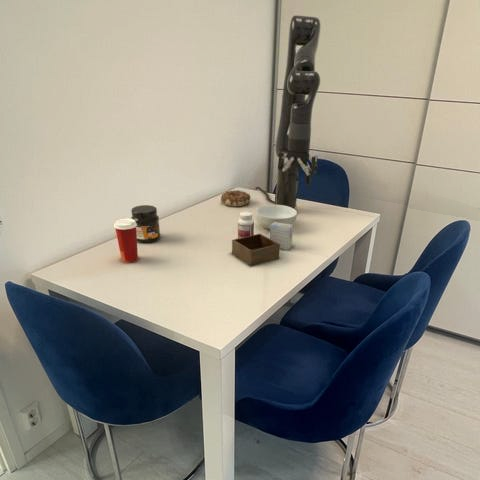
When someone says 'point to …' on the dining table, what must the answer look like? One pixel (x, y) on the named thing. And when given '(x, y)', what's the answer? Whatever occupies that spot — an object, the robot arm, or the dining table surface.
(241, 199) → the donut
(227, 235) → the dining table surface
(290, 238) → the medicine box
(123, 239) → the paper cup
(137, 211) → the supplement container
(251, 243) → the crate
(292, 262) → the dining table surface
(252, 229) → the pill bottle
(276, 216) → the cereal bowl
